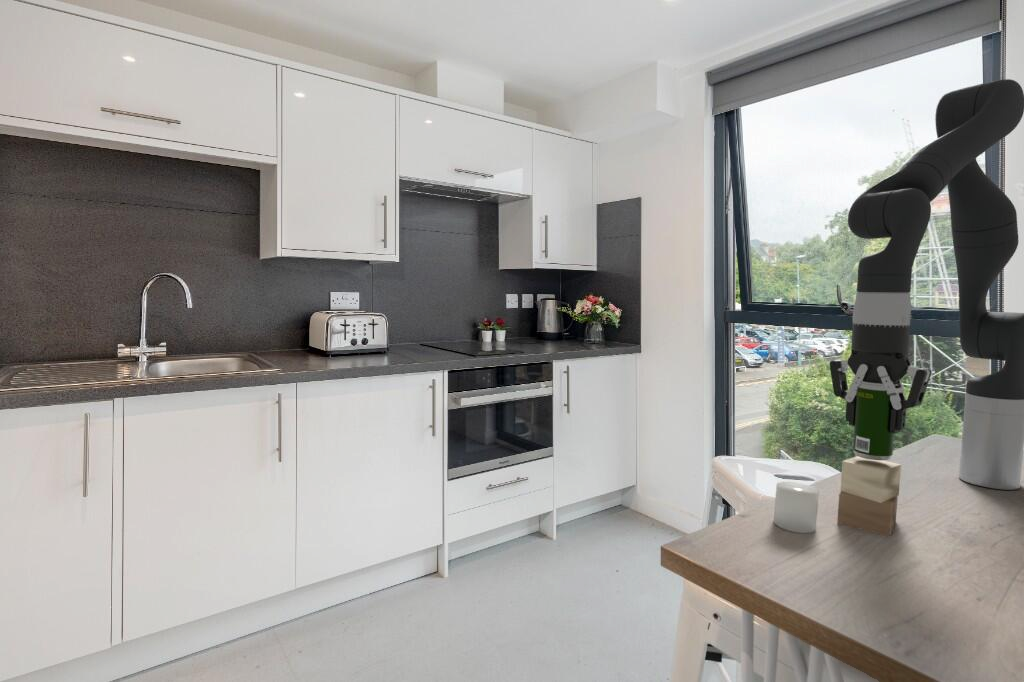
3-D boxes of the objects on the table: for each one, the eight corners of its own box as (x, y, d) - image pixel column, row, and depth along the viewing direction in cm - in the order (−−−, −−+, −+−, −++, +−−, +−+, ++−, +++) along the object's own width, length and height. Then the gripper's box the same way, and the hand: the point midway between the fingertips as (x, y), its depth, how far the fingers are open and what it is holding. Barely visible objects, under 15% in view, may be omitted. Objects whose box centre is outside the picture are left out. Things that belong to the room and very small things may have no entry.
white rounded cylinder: (781, 514, 94) (784, 479, 94) (821, 526, 90) (824, 489, 90) (767, 524, 90) (770, 487, 90) (808, 536, 86) (811, 498, 85)
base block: (846, 511, 97) (848, 482, 96) (895, 522, 92) (897, 492, 92) (837, 524, 91) (839, 493, 91) (889, 536, 87) (891, 504, 86)
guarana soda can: (882, 463, 87) (887, 385, 86) (845, 454, 92) (850, 380, 90) (898, 457, 90) (904, 382, 89) (862, 449, 94) (867, 377, 93)
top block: (858, 484, 95) (860, 455, 95) (898, 495, 90) (901, 464, 90) (840, 491, 92) (842, 460, 91) (881, 502, 87) (883, 470, 87)
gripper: (945, 323, 85) (936, 435, 87) (843, 319, 97) (837, 417, 98) (925, 325, 81) (916, 442, 82) (821, 320, 92) (815, 423, 94)
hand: (873, 428), depth 90 cm, fingers closed on guarana soda can, 5 cm apart
